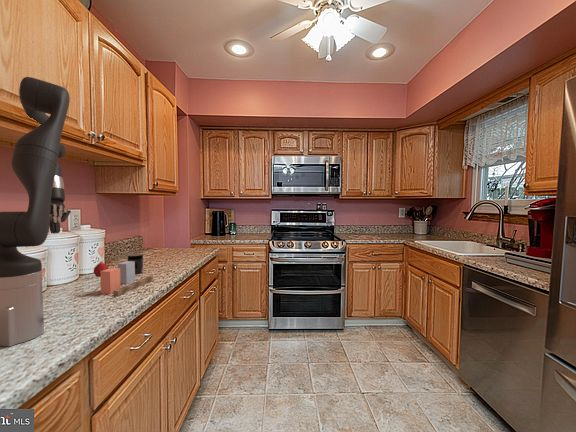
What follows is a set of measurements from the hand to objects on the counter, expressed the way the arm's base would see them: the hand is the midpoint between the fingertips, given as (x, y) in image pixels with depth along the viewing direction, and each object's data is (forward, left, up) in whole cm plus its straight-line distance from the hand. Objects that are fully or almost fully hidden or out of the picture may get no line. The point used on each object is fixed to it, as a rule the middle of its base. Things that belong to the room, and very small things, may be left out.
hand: (55, 233), depth 100 cm
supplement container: (+29, -10, -24) cm, 39 cm away
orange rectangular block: (+3, -20, -23) cm, 30 cm away
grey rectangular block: (+15, -17, -23) cm, 32 cm away
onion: (+23, +3, -24) cm, 34 cm away
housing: (+9, -20, -24) cm, 32 cm away
